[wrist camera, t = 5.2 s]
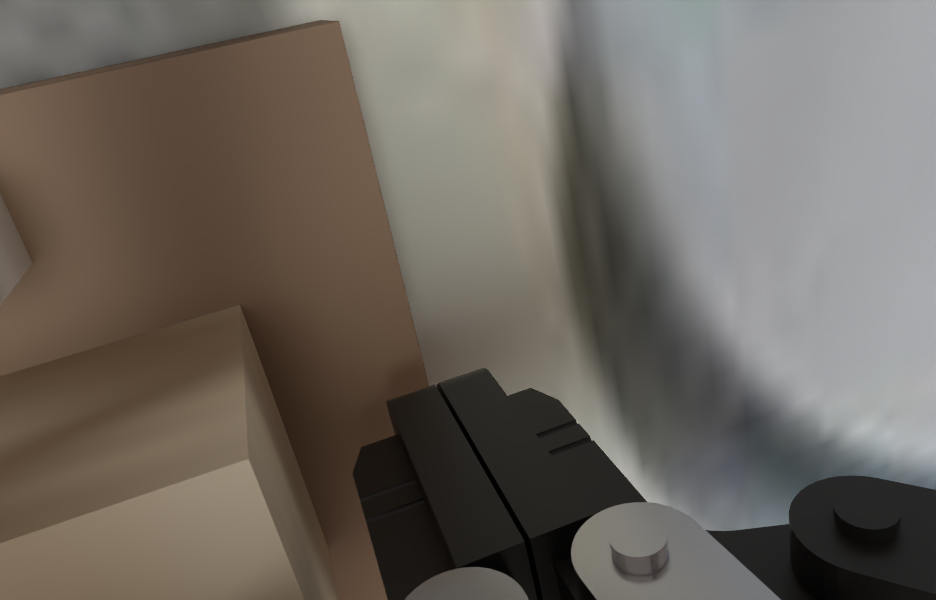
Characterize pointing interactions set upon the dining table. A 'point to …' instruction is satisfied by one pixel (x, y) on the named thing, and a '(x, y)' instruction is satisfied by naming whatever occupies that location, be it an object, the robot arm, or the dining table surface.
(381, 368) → the channel deck
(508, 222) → the dining table surface
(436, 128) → the dining table surface
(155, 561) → the birch block
